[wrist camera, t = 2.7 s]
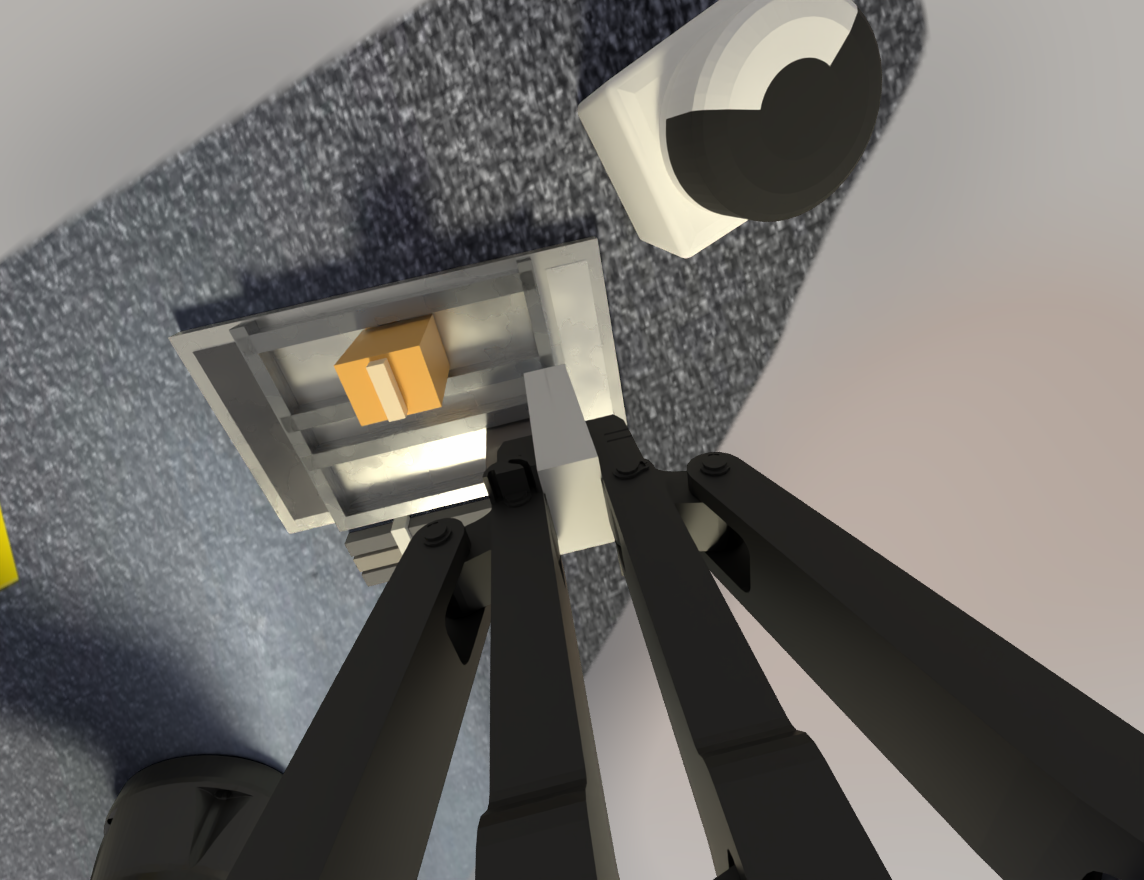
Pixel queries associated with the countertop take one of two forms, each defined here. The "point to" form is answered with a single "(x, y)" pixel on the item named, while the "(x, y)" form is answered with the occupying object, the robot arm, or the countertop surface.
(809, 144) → the container
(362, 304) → the panel
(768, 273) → the countertop surface
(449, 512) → the strapped plank bundle
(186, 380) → the countertop surface
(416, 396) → the toggle
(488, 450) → the toggle
